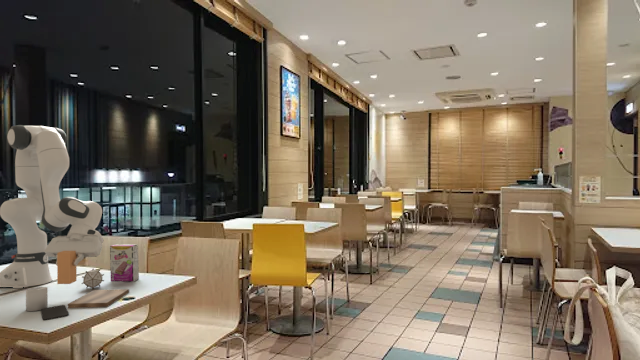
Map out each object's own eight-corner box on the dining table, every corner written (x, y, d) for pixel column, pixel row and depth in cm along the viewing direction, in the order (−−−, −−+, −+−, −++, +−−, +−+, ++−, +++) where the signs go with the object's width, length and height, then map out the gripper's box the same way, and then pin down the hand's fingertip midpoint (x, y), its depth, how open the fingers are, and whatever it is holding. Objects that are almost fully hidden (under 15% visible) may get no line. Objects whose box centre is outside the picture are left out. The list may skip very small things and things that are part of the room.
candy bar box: (109, 281, 184) (109, 245, 184) (116, 279, 189) (115, 243, 189) (133, 282, 183) (132, 245, 183) (139, 279, 188) (138, 243, 188)
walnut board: (67, 307, 147) (67, 303, 147) (94, 293, 165) (93, 290, 165) (107, 306, 147) (107, 302, 147) (129, 292, 165) (128, 289, 165)
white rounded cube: (22, 311, 143) (22, 291, 143) (30, 307, 149) (30, 288, 149) (43, 309, 144) (43, 290, 145) (50, 305, 150) (50, 286, 151)
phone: (64, 304, 150) (69, 314, 138) (64, 306, 150) (69, 316, 138) (40, 308, 146) (43, 319, 134) (40, 311, 146) (43, 321, 134)
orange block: (57, 284, 155) (57, 252, 155) (64, 280, 160) (64, 250, 160) (69, 284, 156) (69, 252, 155) (76, 280, 160) (76, 250, 160)
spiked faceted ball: (90, 298, 172) (74, 282, 167) (90, 286, 179) (75, 271, 174) (110, 286, 174) (95, 270, 169) (109, 275, 181) (95, 260, 176)
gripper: (50, 231, 164) (34, 260, 154) (102, 231, 165) (89, 260, 155) (57, 240, 169) (42, 269, 159) (107, 240, 169) (95, 269, 160)
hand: (66, 265), depth 157 cm, fingers closed on orange block, 5 cm apart
